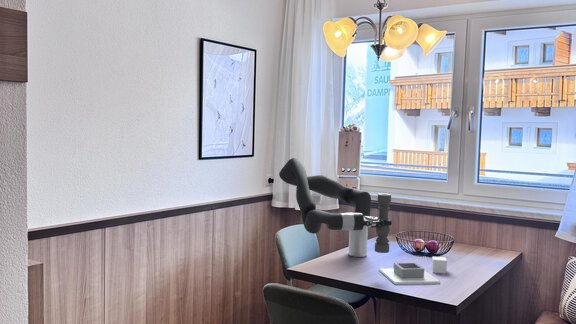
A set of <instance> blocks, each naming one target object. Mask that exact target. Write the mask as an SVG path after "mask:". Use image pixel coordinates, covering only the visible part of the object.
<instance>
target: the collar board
mask: <svg viewBox="0 0 576 324" xmlns="http://www.w3.org/2000/svg"><path fill="white" fill-rule="evenodd" d="M378 271H379V272H380V273H382V275H384V277H385V278H386V279H388V280H389V281H390V282H391V283H392V284H394V285H396V286H397V285H436V284H439V285H440V284H441V281H440V280H439V279H437V277H434V276H433V275H431V274H430V273H429V272H428V271H426V270H425V268H424V267H422V266H421V265H419V264H418V263H417V262H394V263H393V267H391V268H379V269H378Z"/></svg>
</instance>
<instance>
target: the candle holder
mask: <svg viewBox="0 0 576 324" xmlns="http://www.w3.org/2000/svg"><path fill="white" fill-rule="evenodd" d="M377 203H378V207H377V210H378V217H379V219H378V220H389V212H390V210H391V208H390V205H391V203H392V194H391V193H385V192H384V193H381V192H379V193H377ZM379 224H380V223H379ZM390 231H391V227H390V225H383V227H375V232H376V234H377V237H376V238H375V241H376V242H375V243H374V252H376V253H379V254H388V253H390V243H389V242H390V239H389V238H388V236H389V234H390V233H391V232H390Z"/></svg>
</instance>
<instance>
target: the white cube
mask: <svg viewBox="0 0 576 324" xmlns="http://www.w3.org/2000/svg"><path fill="white" fill-rule="evenodd" d="M431 262H432V263H431V271H432V273H434V274H437V273H438V274H447V270H448V269H447V266H448V264H447V262H448V260H447V257H443V256H442V257H441V256H432V257H431Z"/></svg>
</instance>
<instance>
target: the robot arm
mask: <svg viewBox="0 0 576 324" xmlns="http://www.w3.org/2000/svg"><path fill="white" fill-rule="evenodd" d="M278 176H279V178H280V179H281V180H282V181H283V182H284V183H287V184H288V185H291V186H294V187H296V189H295V192H296V193H295V198H296V202H297V206H298V207H299V210H300V213H301V219H302V222H303V226H304V229H305V231H307V232H308V233H310V234H313V235H315V234H317V233H319V232H320V230H321V227H322V224H323V225H325V224H326V226H327V229H328V230H330V231H331V230H333V231H348V232H349V234H348V255H349V256H351V257H355V258H364V257H367V256H368V235H369V234H368V233H369V232H368V231H369V228H371V229H373V228H375V229H376V227H383V225H389V226H392V225H393V224H392V223H393V222H392V220H391V219H388V220H378V219H379V216H378V217H377V216H371V210H372V197H371V194H370V192H369V191H366V190H361V189H357V188H352V187H349V186H345V185H343V184H342V183H340V182H339V181H338V180H336V179H334V178H332V177H330V176H327V175H322V174H319V175H311V176H307V170H306V168H305V165H304V163H303V162H302V161H300V160H299V159H298V158H294V157H292V158H290V159H289V160H287V162H286V163H285V164H284V166H282V168H281V169H280V170H279V173H278ZM311 192H314V193H317V194H319V195H322V196H324V197H326V198H331V199H335V200H340V201H341V202H344V203H345V204H347V205H349V206H350V207H353V208H355V210H354V212H344V213H343V212H342V213H338V212H337V213H335V212H334V213H331V212H328V211H326V210H325V211H323V210H320V209H317V207H316V203H315V201H314V198H313V195H312V193H311ZM379 223H380V224H379Z"/></svg>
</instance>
